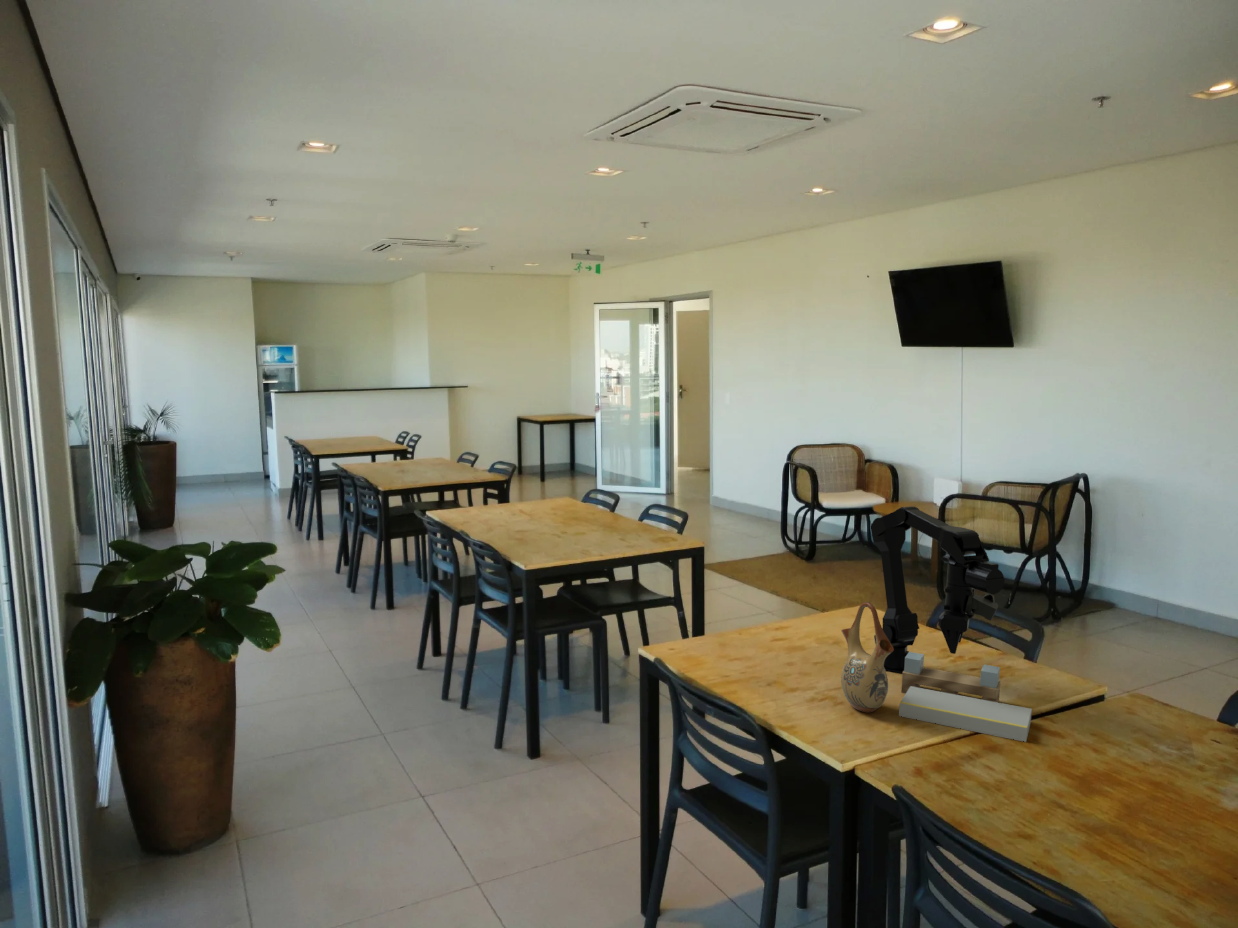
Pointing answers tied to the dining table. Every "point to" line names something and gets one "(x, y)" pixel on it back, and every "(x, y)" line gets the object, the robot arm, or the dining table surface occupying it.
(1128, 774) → the dining table surface
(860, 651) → the ceramic vessel
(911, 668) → the grey small block
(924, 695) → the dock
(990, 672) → the block
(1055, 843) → the dining table surface
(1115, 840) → the dining table surface
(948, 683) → the pallet
